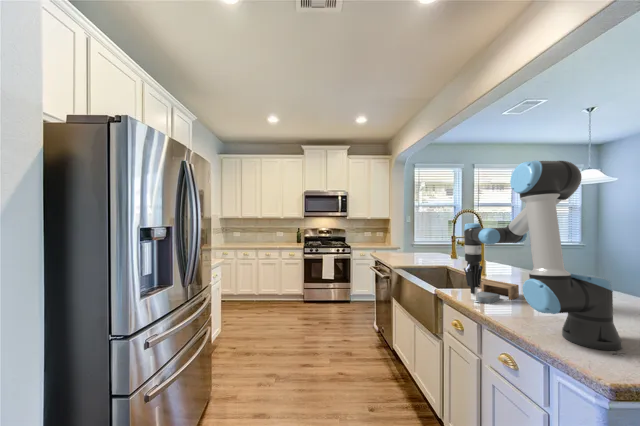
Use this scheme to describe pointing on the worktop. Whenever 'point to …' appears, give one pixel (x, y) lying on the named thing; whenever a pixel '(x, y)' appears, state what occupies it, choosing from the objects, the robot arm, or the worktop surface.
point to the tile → (487, 297)
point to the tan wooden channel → (501, 288)
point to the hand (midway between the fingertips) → (474, 299)
